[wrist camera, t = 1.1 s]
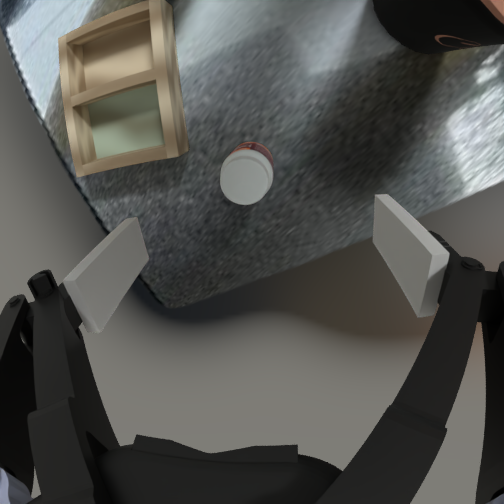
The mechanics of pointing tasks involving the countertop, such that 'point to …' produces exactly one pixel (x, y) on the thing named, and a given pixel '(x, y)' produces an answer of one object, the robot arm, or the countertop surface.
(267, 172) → the pill bottle
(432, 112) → the countertop surface
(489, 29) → the coffee jar
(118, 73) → the divided wooden tray
